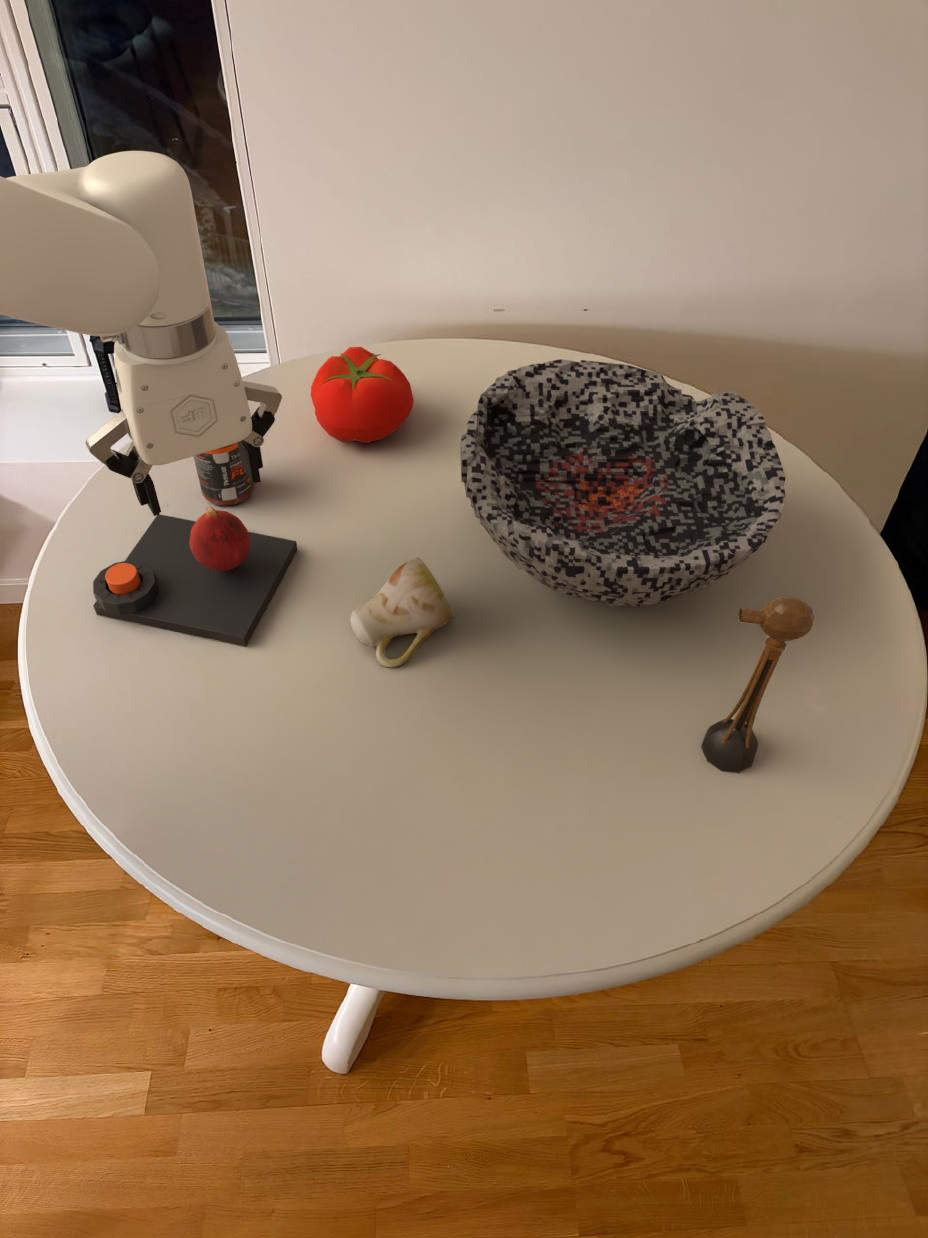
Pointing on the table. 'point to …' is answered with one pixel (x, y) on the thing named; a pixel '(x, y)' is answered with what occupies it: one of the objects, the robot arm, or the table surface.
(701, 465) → the bowl
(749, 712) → the wooden tabletop sculpture
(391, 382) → the tomato
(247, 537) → the onion
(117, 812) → the table surface
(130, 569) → the button
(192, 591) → the scale
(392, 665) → the mug
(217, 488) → the supplement bottle
